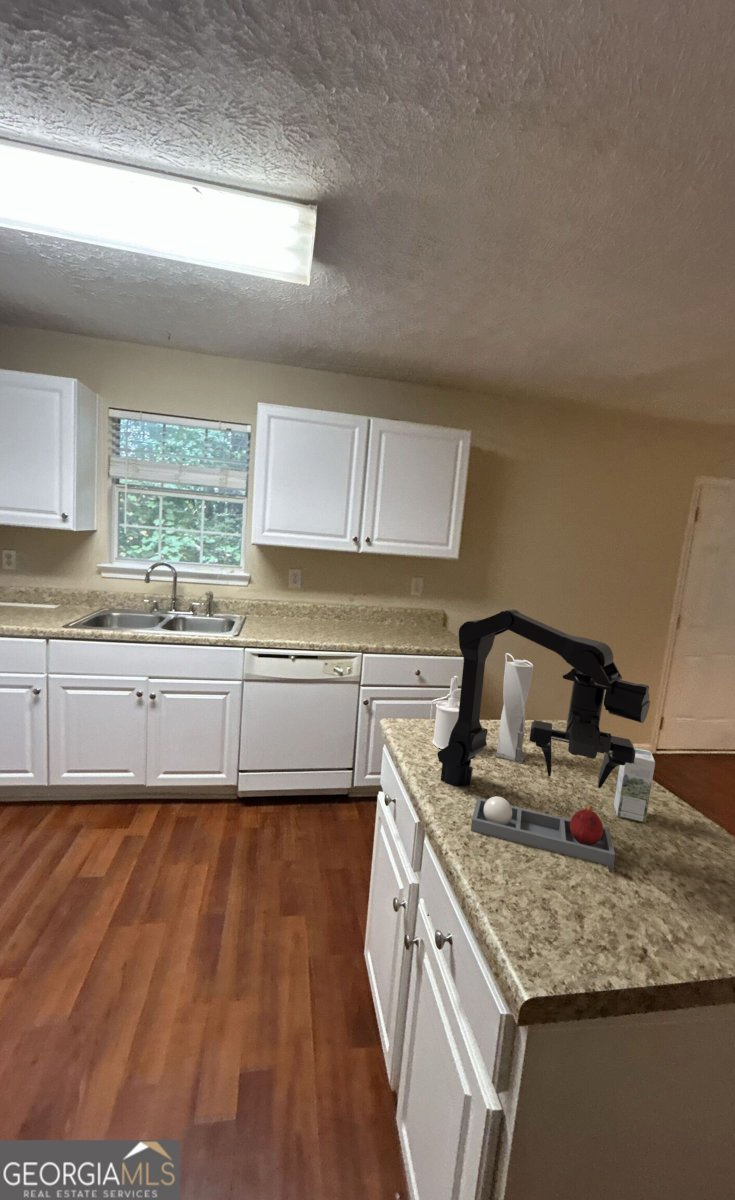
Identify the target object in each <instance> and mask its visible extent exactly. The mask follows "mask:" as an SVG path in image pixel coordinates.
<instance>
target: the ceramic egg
mask: <svg viewBox="0 0 735 1200" xmlns="http://www.w3.org/2000/svg"><path fill="white" fill-rule="evenodd" d="M486 800H487V801H486V803H485V805H484V810H483V811H484V816H485V818H486V820H487V821H489V822H493V823H497V824H501V825H507V824H508V823H509V822H510V820H511V818H512V808H511V806H512V805H511V804H510V802H509V801H508V800H507V799H505V798H504V797H502V796H499V795H497V796H492V797H490V798H488V799H486Z"/></svg>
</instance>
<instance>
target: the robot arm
mask: <svg viewBox="0 0 735 1200" xmlns="http://www.w3.org/2000/svg"><path fill="white" fill-rule="evenodd" d="M508 631H510V632H512V633H514V634H516V635H519V636H520V637H522V638H524V639H527V640H529V641H531V642H533V643H535V644H537V645H539V646H541V647H543V648H546V649H547V650H550V651H552V652H553V653H555V654H557V655H559V656H560V657H561V659H563V660H564V661H565V662H566V663H567V664H568V665H570V666H571V667H572V668H571V669H570V671H569V672H567V673H565V674H562V679H564V680H566V681H567V680H568V681H570V682H573V683H572V688H571V696H570V700H569V709H568V715H567V719H566V727H565V731H563V730H558V729H553V723H551V722H545V721H542V720H538V719H537V720H536V719H535V720H533V721H532V722H531V725H530V730H529V731H530V733H529V742H531V743H535V746H536V747H537V748H540V749H541V751H542V753H543V756H544V760H545V765H546V770H547V776H548V777H551V775H552V740H555V741H558V742H563V743H566V744H567V743H568V752H569V754H571V755H573V756H582V757H586V758H587V759H591V760H592V759H596V758H597V755H598V753H599V754H604V756H603V760H602V763H601V768H600V771H599V775H598V780H597V788H598V789H601V788H602V786H603V785H604V783H605V782H606V780H607V779H608V777H609V775H610V774H611V773H612V772H613V770H614V769H616V768H617V767H619V765H625V764H626V762H627V763H634V760H635V749H634V748H635V747H634V744H633V742H632V741H631V740H630V739H629V738H624V737H619V736H616V735H612V734H611V733H608V732H603V731H601V729H600V722H601V715H602V710H603V706H604V710H605V711H607V712H608V714H610V715H613V716H617V717H620V718H622V719H626V720H629V721H630V720H631V721H633V722H636V723H640V724H643V723H644V722H645V721H646V719H647V716H648V714H649V710H650V705H651V701H650V693H649V689H650V686H649V685H648V684H643V683H635V682H630V681H627V680H623V676H622V675H621V672H620V671H619V669H618V667H617V666H616V664H615V662H614V653H613V651H612V648H611V647H610V645H608V644H606V643H605V642H602V641H598V640H595V639H590V638H586V637H582V636H574V635H571V634H568V633H565V632H563V631H561V630H558V629H556V628H554V627H552V626H550V625H547V624H545V623H543V622H540V621H539V620H537V619H534V618H532V617H530V616H527V615H526V614H523V613H521V612H520V611H518V610H517V609H505V610H501V611H500V612H499V613H495V614H494V615H491V616H488V617H486V618H484V619H474V620H468V621H466V622H464V623H462V625H460V626H459V628H458V646H459V649H460V652H461V655H462V657H463V663H462V665H463V666H462V673H461V685H460V689H461V690H460V694H459V695H460V696H459V702H460V704H459V715H458V720H457V722H456V724H455V726H454V728H453V730H452V732H451V735H450V739H449V742H448V746H447V747H445V748H444V749H442V750H441V749H440V750H438V751H437V758H438V762H439V763H441V773H440V781H441V782H444V783H445V784H447V785H449V786H452V787H471V784H472V780H473V779H472V778H473V770H474V768H473V766H471V765H472V760H474V759H475V758H476V757H477V755H478V754H480V753H482V752H483V750H484V748H485V747H486V746H488V744H487V736H488V731H489V730H488V728H484V727H483V725H482V724H481V721H480V714H481V705H482V697H483V686H484V677H485V666H486V661H487V660H486V659H488V658H487V657H488V656H489V654H490V653H491V650H492V648H493V647H494V646H493V645H494V643H495V638H496V636H498V635H502V634H503V633H506V632H508Z"/></svg>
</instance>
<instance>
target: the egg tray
mask: <svg viewBox="0 0 735 1200" xmlns="http://www.w3.org/2000/svg"><path fill="white" fill-rule="evenodd" d="M487 800H488V799H484V798H479V797H477V798H476V803H475V807H474V811H473V813H472V818H471V824H470V831H471V832H475V833H479V834H483V835H486V836H491V837H495V838H498V839H503V840H506V841H510V842H513V843H518V844H522V845H526V846H530V847H533V848H537V849H540V850H541V849H542V850H545V851H550V852H553V853H558V854H560V855H565V856H569V857H572V858H575V859H581V860H585V861H588V862H593V863H596V864H600V865H604V866H607V869H608V872H609V873H611V874H613V872H614V865H615V859H616V853H615V847H614V845H613V841H612V840H613V839H612V837H611V833H610V829H609V828H608V827H604V826H603V835H602V837H601V839H600V840H599V841H598V842H597V843H595V844H593V845H590V846H587V845H583V844H580V843H579V842H578V841H576V839H575V838H574V837H573V835H572V833H571V830H570V821H571V819H569V818H564V817H561V816H560V817H559V816H555V815H552V814H548V813H543V812H538V811H534V810H531V809H527V808H522V807H519V806H518V807H517V806H515V805H514V806H513V805H511V808H512V818H511V820H510V822H509V823H508V824H507V825H501V824H497V823H493V822H489V821H487V820H486V818H485V816H484V811H483V810H484V805H485V803H486V801H487Z"/></svg>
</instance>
